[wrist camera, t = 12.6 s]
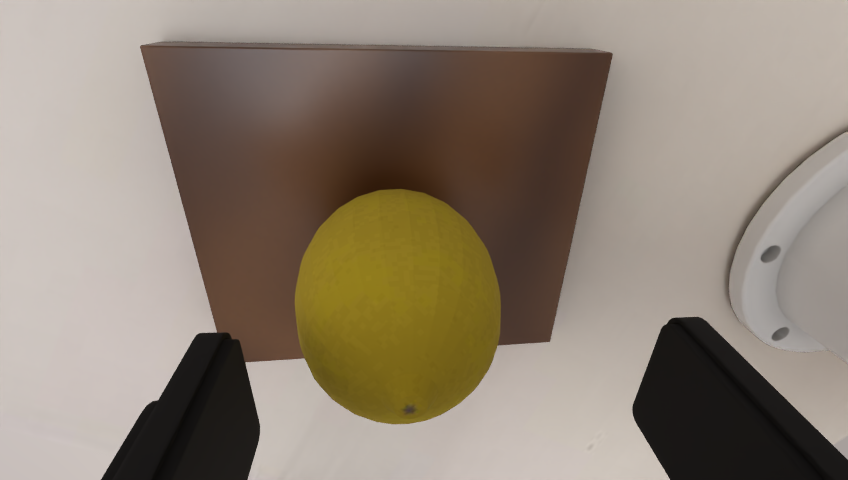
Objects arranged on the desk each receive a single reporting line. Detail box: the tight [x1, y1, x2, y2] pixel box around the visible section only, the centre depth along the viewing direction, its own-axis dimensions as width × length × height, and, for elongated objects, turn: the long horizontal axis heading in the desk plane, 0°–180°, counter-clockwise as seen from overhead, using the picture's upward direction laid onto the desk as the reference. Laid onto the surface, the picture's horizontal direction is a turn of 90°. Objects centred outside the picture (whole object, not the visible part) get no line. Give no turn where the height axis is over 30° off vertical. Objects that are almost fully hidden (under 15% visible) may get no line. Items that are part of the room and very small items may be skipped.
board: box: [140, 42, 612, 362], centre depth 16 cm, size 14×12×2 cm
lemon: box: [295, 189, 501, 424], centre depth 12 cm, size 6×6×8 cm
